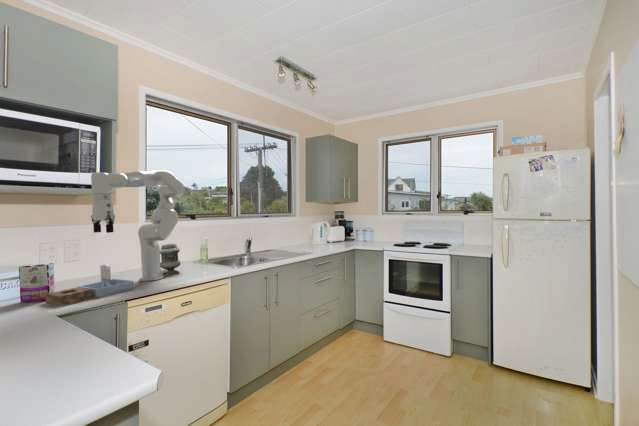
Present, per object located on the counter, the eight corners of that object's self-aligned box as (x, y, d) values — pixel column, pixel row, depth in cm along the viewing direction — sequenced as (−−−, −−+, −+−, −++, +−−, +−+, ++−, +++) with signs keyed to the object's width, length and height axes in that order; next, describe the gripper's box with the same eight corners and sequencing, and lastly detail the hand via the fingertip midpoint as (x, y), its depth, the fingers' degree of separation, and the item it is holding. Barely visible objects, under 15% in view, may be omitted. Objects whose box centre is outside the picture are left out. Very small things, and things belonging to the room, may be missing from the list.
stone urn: (160, 272, 204) (158, 244, 204) (180, 270, 209) (179, 242, 209) (159, 275, 193) (158, 246, 193) (181, 273, 198) (180, 244, 198)
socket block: (76, 295, 151) (76, 287, 151) (91, 298, 146) (91, 289, 146) (45, 303, 140) (45, 293, 140) (60, 305, 135) (60, 296, 135)
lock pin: (108, 288, 160) (106, 264, 160) (113, 288, 158) (111, 264, 158) (99, 290, 157) (98, 265, 156) (104, 291, 155) (103, 266, 155)
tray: (114, 286, 169) (114, 278, 169) (133, 288, 162) (133, 280, 162) (77, 294, 153) (77, 286, 153) (96, 298, 146) (96, 289, 146)
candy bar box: (55, 297, 149) (54, 262, 149) (49, 300, 144) (48, 264, 144) (26, 300, 146) (25, 264, 146) (19, 303, 141) (18, 266, 141)
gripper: (120, 197, 158) (122, 231, 159) (98, 198, 165) (100, 231, 166) (105, 197, 151) (107, 233, 152) (82, 198, 159) (84, 233, 159)
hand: (103, 232), depth 159 cm, fingers open, 9 cm apart
